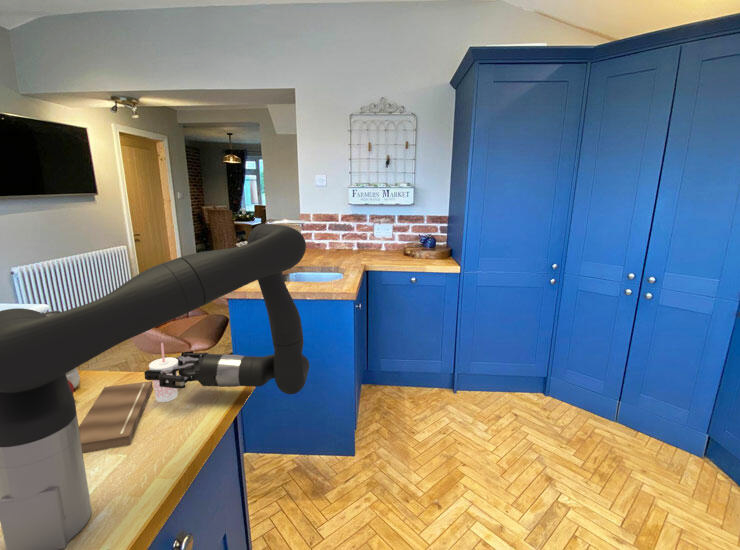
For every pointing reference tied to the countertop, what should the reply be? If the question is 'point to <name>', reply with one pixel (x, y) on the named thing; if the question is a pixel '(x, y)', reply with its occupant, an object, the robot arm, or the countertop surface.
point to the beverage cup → (166, 364)
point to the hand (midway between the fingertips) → (154, 368)
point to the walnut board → (114, 416)
